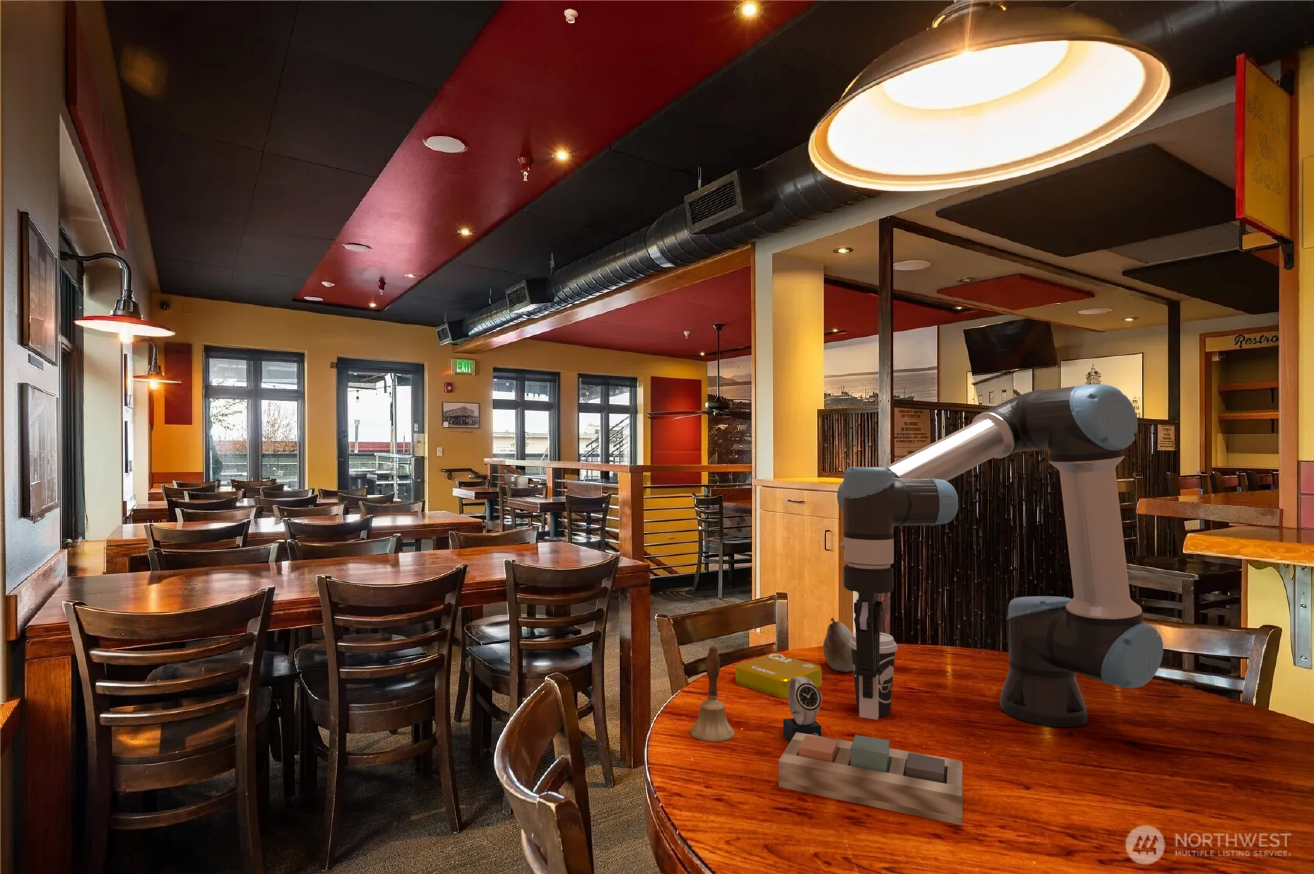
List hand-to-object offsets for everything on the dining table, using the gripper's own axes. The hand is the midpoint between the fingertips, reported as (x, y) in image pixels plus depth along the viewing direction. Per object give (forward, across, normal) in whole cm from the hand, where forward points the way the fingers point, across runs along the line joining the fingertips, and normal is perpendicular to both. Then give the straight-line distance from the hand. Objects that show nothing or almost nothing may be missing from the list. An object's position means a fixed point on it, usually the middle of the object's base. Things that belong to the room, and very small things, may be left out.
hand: (868, 716), depth 104 cm
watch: (+11, -13, -13) cm, 22 cm away
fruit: (+11, -58, -13) cm, 61 cm away
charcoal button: (+10, 0, +8) cm, 13 cm away
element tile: (+11, -42, -25) cm, 50 cm away
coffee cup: (+11, -33, -3) cm, 35 cm away
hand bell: (+11, -9, -29) cm, 33 cm away
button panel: (+11, 0, 0) cm, 11 cm away
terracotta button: (+10, 0, -8) cm, 12 cm away
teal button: (+8, 0, 0) cm, 8 cm away
